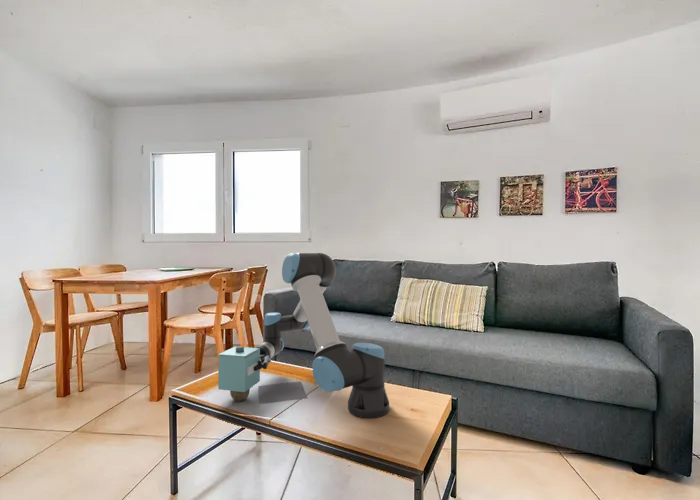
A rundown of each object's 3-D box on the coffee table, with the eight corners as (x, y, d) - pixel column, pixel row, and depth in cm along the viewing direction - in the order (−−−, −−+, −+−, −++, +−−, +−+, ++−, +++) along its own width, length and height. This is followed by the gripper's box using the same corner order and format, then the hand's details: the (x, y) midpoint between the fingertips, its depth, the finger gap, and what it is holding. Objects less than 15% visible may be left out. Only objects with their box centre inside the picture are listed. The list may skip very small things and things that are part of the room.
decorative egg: (239, 406, 125) (239, 379, 125) (226, 402, 129) (226, 376, 129) (253, 399, 131) (253, 373, 132) (240, 395, 135) (240, 370, 135)
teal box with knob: (259, 381, 135) (259, 344, 135) (244, 392, 124) (245, 352, 124) (234, 378, 137) (235, 342, 137) (218, 389, 127) (218, 350, 127)
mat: (307, 399, 132) (307, 398, 132) (259, 405, 126) (259, 403, 126) (300, 382, 149) (300, 381, 149) (258, 387, 144) (258, 385, 144)
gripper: (287, 364, 145) (262, 383, 124) (238, 359, 151) (206, 377, 130) (287, 346, 145) (262, 362, 124) (238, 342, 151) (206, 357, 130)
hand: (233, 370), depth 127 cm, fingers closed on teal box with knob, 11 cm apart
